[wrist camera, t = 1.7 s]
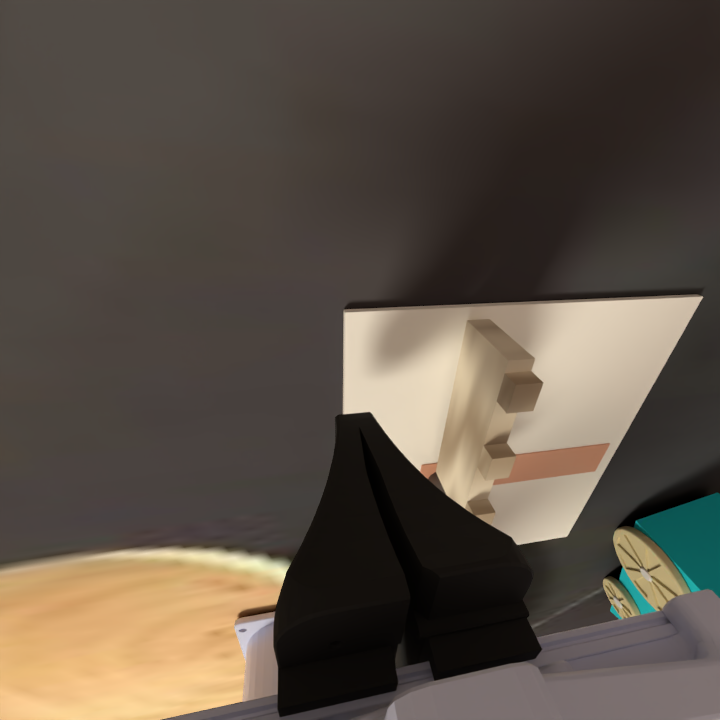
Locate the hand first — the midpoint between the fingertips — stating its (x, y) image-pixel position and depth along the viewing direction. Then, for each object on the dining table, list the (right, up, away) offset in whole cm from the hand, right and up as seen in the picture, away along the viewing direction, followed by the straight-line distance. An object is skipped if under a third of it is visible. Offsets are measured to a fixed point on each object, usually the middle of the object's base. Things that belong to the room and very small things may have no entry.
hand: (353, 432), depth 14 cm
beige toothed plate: (+5, +1, +3) cm, 6 cm away
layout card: (+8, -3, +7) cm, 11 cm away
